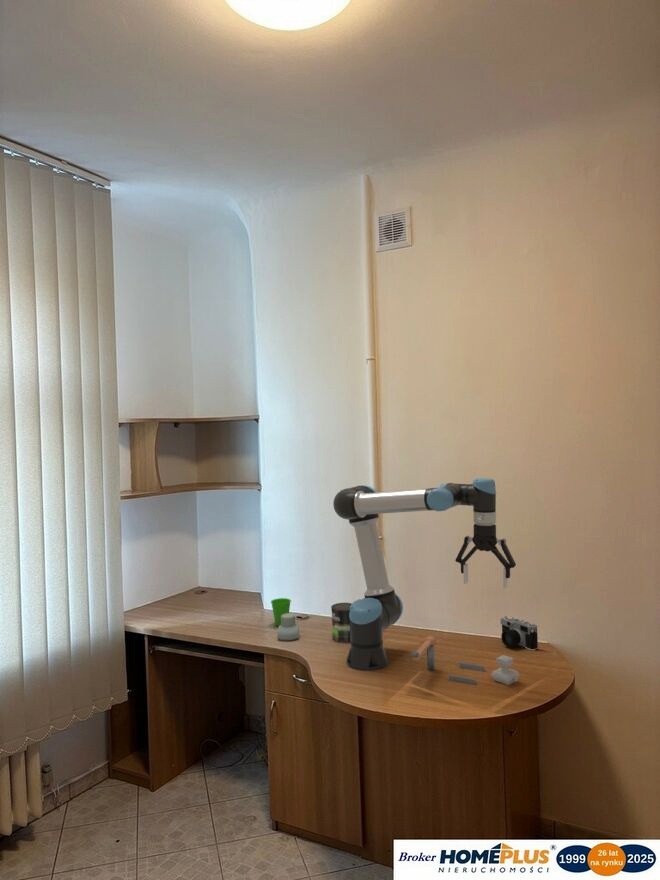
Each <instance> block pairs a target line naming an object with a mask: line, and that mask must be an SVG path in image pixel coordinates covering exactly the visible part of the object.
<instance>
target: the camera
mask: <svg viewBox="0 0 660 880" xmlns="http://www.w3.org/2000/svg"><path fill="white" fill-rule="evenodd" d="M504 618H505V619H504ZM504 618H502V617H501V618H500V625H501V636H500V638H501V641H502V644H503V645H504V646H505V647H506V648H512V647H514V646H517V645H520V646H523V647H527V648H529V649H536V648H539V644H538V643H539V642H538V641H539V640H538V639H539V638H538V624H535V622H534V623H533V622H529V621H528V620H524V619H520V618H519V617H517V616H514V617H512V619H508V618H507V616H505V617H504ZM519 619H520V620H519ZM520 646H519V647H520ZM523 647H522V648H523Z"/></svg>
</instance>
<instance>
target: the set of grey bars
mask: <svg viewBox="0 0 660 880" xmlns="http://www.w3.org/2000/svg"><path fill="white" fill-rule="evenodd" d="M426 663H427V664H426V665H427V666H426V667H425V669H427V671H429V672H434V671H435V669H436V667H435V666H436V665H435V664H436V663H435V644H434V645H430V646H429V648H428V649H427V650H426ZM458 668H462V669H467V670H475V671H480V672H485V671H486V666H485V665H482V664H481V665H480V664H475V663H467V662H463V661H459V662H458ZM448 681H454V682H459V683H465V684H470V685H477V679H476V678H472V677H466V676H460V675H456V674H454V675H453V674H449V675H448Z"/></svg>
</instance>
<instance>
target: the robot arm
mask: <svg viewBox="0 0 660 880" xmlns="http://www.w3.org/2000/svg"><path fill="white" fill-rule="evenodd" d="M496 498H497V491H496V481H495V480H494V479H493V478H482V477H480V478H479V477H477V478H474V479H473V480H472V483H454V482H447V483H446V482H443V483H441V484H440V486H439V487H430V488H418V489H405V490H390V491H381V492H380V491H379V492H378V491H377V490H376V489H375V488H373V487H372V486H370V485H366V484H365V485H356V486H353V487H348V488H344V489H342V490H340V491H338V492H337V493H336V494H335V496H334V499H333V503H332V504H333V510H334V512H335V513H336V515H337V516H338V517H340V518H342V519H344V520H348V522H349V525H351V526H352V527H353V529H354V533H355V538H356V542H357V546H358V553H359V556H360V562H361V567H362V570H363V576H364V581H365V586H366V591H365V592H364V593H363V595H364V597H363V598H359V599H356V600H355V601H353V602H351V603H352V604H351V606H350V613H349V618H350V640H351V642H350V647H349V650H348V654H347V657H346V661H345V662H346V665H347V667H348V668H350V669H352V670H356V671H361V672H362V671H363V672H364V671H365V672H366V671H367V672H370V671H371V672H372V671H377V670H381V669H384V668H386V667H387V666H388V665H389V658H388V656H387V654H386V650H385V648H384V643H383V631H384V630H386V629H388V628H389V627H390V626H393V625H394V624H396V623H397V622H398V621H399V619H400V618H401V617H402V614H403V612H404V611H403V609H404V606H403V602H402V599H401V597H400V596H398V595H397V593H396V592H395V587H393V586H391V584H390V583H389V578H388V574H387V573H388V572H387V568H386V563H385V559H384V553H383V549H382V546H381V545H382V544H381V540H380V535H379V531H378V527H377V522H378V520H379V518H380V515H379V514H393V513H396V514H397V513H411V512H424V511H425V512H426V511H427V512H428V511H429V512H430V511H434V512H443V511H444V512H445V511H447V510H449V509H452V508H454V507H457V506H472V507H473V509H472V511H473V516H472V517H473V523H474V524H473V537H472V536H470V535H466V536H465V537H464V538H463V544H462V546H461V548H460V550H459V552H458V553H457V556H456V557H455V559H454V561H455V562H456V563H459V564H460V573H461V574H463V584H468V583H469V563H467V561H469V560H470V558H471V557H472V556H473V554H475V553H476V552H477V550H478V551H480V552H483V551H485V552H491V553H492V554H493V555H494V556H495V557H496V558H497V560H498V561H499V562H500V563H501V565H502V566H503V569H502V589H507V587H508V579H510V577H511V569H513V568H515V567H516V565H517V564H516V562H515V560H514V558H513V556H512V554H511V552H510V550H509V548H508V546H507V541H506V538H502V539H499V538H497V525H496V523H497V515H496V514H497V513H496V512H497V509H496V505H497V503H496V502H497V501H496ZM471 542H472V543H473V544H474V546H473V547H472V548H471V550H470V551H469V552H468V553H467V554H466V555H465V556H464V553H465V552H466V551H467V548H468V546H469V544H471ZM497 544H498V545H499V546H500V547H501V550H502V551H503V553H504V555H503V554H502V553H501V552H500V551H499V548H498V547H497V546H496V545H497ZM463 556H464V557H463ZM504 556H505V557H504Z"/></svg>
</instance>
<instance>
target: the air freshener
mask: <svg viewBox="0 0 660 880" xmlns="http://www.w3.org/2000/svg"><path fill="white" fill-rule="evenodd" d="M299 628H300V627H299V625H298V624H297V623H296V614H294V613H290V612H289V613H286V614H283V615H281V625H280V626H279V627H278V626H277V638H278V640H280V641H284V640H285V641H287V642H289V641H295V640H297V639H299V637H300V629H299Z"/></svg>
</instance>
